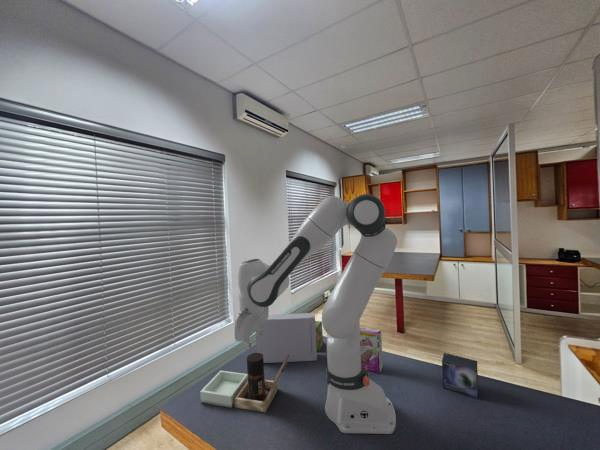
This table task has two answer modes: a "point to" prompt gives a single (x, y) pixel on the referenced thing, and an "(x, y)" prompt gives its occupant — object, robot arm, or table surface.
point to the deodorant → (256, 376)
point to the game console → (288, 338)
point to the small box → (460, 375)
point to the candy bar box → (371, 349)
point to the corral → (254, 404)
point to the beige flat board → (277, 378)
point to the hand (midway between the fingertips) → (253, 341)
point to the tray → (223, 388)
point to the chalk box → (318, 335)
